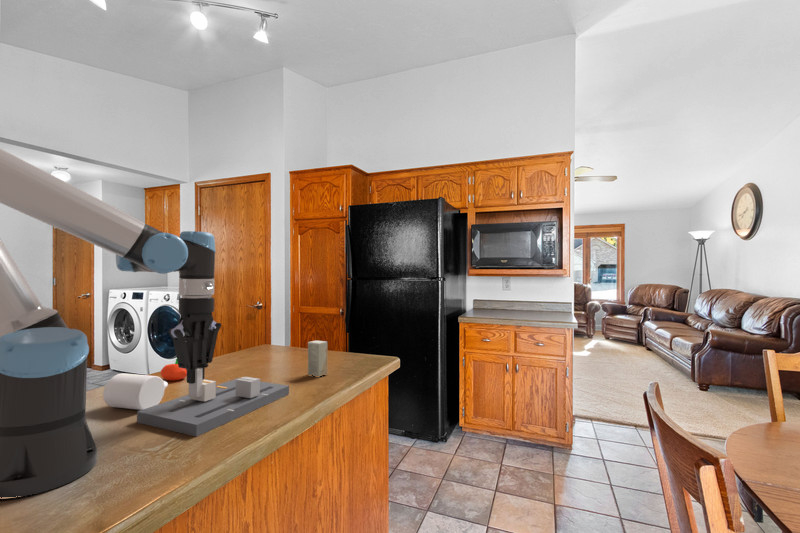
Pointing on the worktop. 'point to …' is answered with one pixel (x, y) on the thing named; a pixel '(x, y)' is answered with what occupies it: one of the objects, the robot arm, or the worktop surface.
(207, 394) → the fader
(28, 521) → the worktop surface
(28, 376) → the robot arm
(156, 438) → the worktop surface
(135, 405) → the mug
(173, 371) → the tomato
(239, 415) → the console
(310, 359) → the box
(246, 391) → the fader
